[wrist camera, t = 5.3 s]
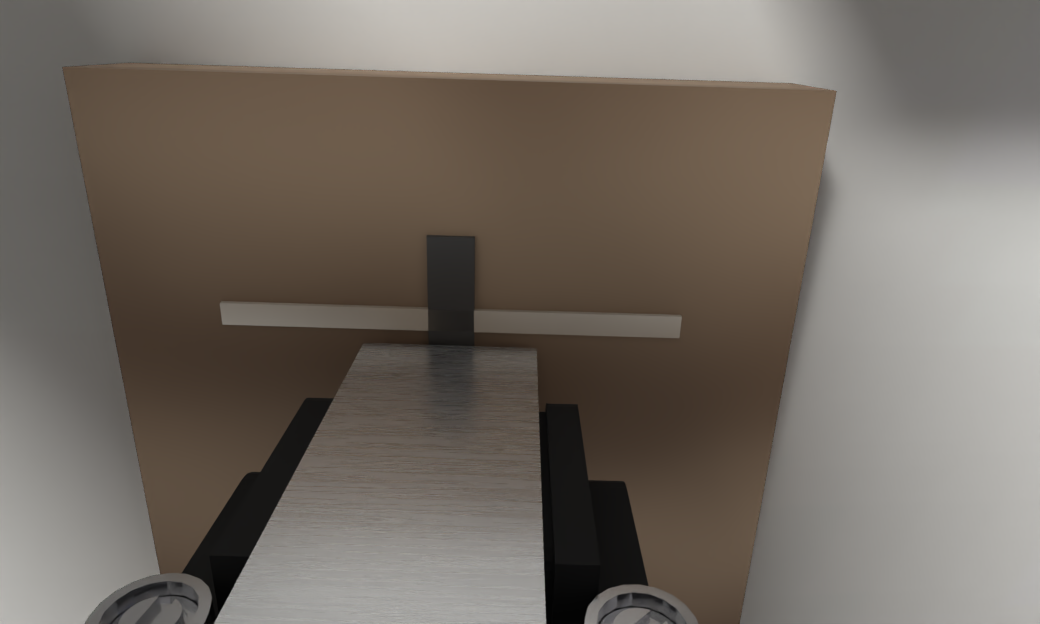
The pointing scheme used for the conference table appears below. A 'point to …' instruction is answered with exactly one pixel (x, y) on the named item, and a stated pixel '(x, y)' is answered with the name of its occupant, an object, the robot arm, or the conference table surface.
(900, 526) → the conference table surface
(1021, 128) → the conference table surface
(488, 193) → the fader console
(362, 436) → the fader tab
